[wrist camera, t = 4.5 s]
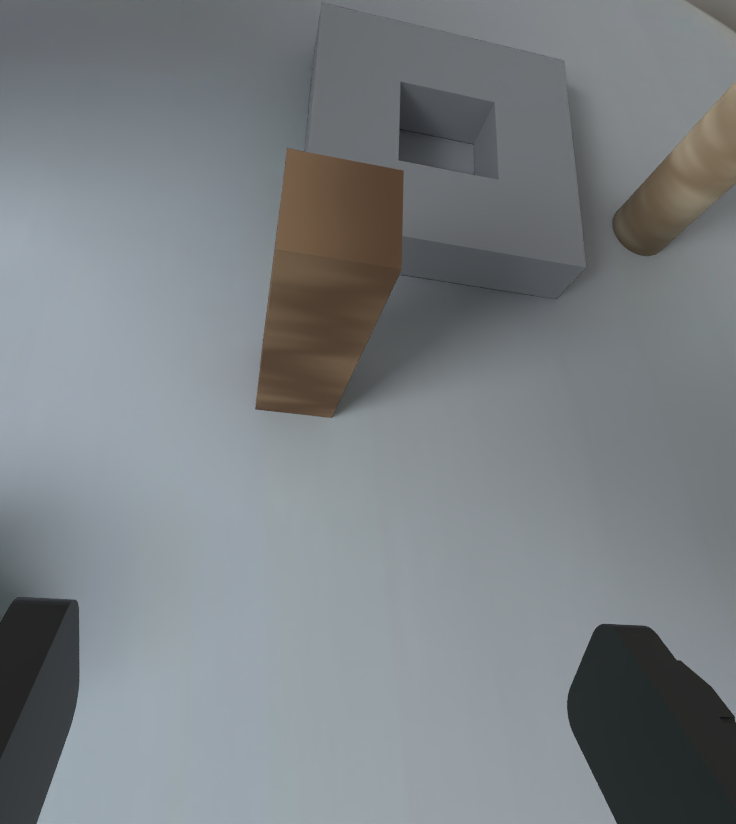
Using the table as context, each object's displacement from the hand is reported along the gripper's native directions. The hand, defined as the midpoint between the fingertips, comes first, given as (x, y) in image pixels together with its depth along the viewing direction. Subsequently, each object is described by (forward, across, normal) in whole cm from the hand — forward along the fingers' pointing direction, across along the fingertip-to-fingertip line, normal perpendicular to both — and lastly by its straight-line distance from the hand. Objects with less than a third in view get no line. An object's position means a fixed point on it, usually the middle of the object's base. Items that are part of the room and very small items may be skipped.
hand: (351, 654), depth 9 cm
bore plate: (+29, +6, +7) cm, 30 cm away
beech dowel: (+28, +19, +6) cm, 34 cm away
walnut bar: (+19, 0, -3) cm, 19 cm away
